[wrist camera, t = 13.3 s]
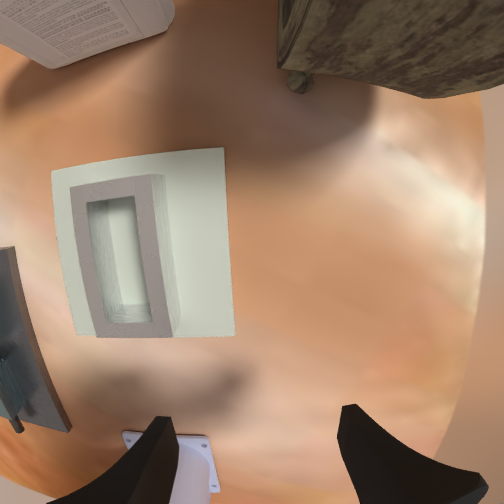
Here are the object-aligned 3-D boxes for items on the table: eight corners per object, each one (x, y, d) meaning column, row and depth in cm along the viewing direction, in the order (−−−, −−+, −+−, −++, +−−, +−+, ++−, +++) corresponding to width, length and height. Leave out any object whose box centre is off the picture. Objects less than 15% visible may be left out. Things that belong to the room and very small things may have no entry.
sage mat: (235, 333, 20) (235, 335, 20) (79, 332, 20) (76, 334, 20) (223, 147, 18) (223, 147, 17) (54, 171, 17) (51, 171, 17)
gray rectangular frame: (181, 315, 19) (173, 337, 16) (113, 317, 19) (96, 337, 16) (165, 175, 17) (151, 173, 15) (92, 185, 17) (69, 187, 14)
